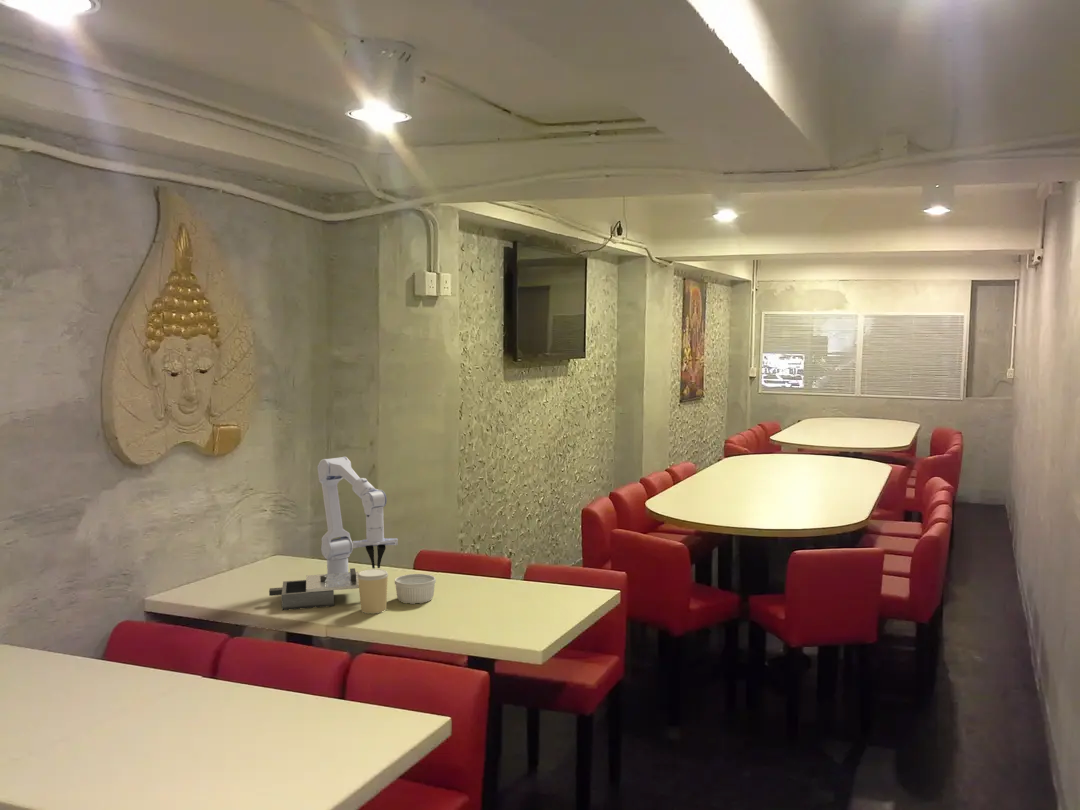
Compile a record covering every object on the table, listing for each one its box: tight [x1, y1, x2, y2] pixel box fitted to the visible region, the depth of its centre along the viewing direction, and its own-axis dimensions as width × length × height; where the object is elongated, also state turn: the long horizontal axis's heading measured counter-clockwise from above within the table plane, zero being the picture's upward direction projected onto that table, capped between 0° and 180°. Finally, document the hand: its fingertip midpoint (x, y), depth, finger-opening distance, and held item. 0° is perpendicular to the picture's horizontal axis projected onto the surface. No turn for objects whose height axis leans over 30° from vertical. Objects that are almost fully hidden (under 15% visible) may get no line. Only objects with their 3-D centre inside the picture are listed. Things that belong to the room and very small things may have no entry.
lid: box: [305, 568, 359, 592], centre depth 286 cm, size 17×17×3 cm
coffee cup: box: [358, 568, 389, 614], centre depth 274 cm, size 9×9×12 cm
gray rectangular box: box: [268, 579, 335, 611], centre depth 284 cm, size 16×20×5 cm
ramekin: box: [394, 573, 437, 605], centre depth 285 cm, size 13×13×7 cm
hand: (376, 567), depth 289 cm, fingers closed
